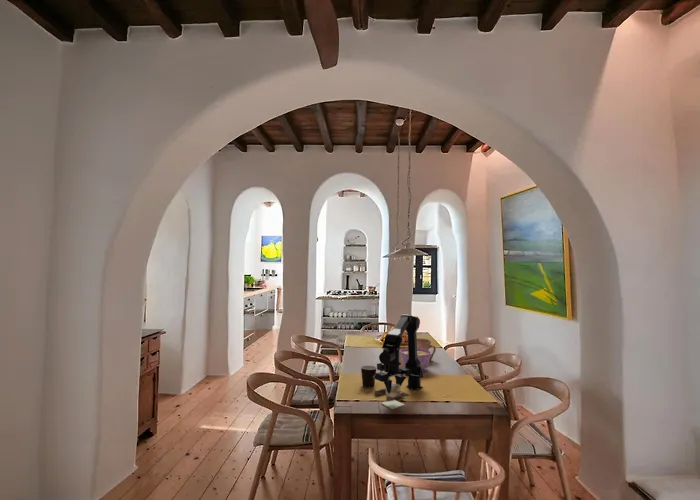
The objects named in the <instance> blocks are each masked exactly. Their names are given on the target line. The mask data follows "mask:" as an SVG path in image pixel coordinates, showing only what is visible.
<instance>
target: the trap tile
mask: <svg viewBox="0 0 700 500" xmlns="http://www.w3.org/2000/svg"><path fill="white" fill-rule="evenodd" d="M400 392H403V397H405V396H409V395H410V394H408V393H407V392H404V391H403V390H400Z"/></svg>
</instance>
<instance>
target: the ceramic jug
mask: <svg viewBox="0 0 700 500" xmlns="http://www.w3.org/2000/svg"><path fill="white" fill-rule="evenodd" d="M431 343H432V341H431V340H430V339H428V338H421V337H420V338H417V348H420V349H426V350H429V349H430V348H433V351H432V352H431V356H430V360H429V362H430V361H431V360H432V359H433V357H434V355H435V353H436V349H437V347H436V346H435V345H434V344H431Z"/></svg>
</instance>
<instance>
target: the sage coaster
mask: <svg viewBox="0 0 700 500" xmlns="http://www.w3.org/2000/svg"><path fill="white" fill-rule="evenodd" d="M380 403H381V405H382V406H384V407H387V408H388V409H391V410H394V409H397V408H402V407H405V406H406V404H405V403H403V402H400V401H398V400H397V399H396V400H390V401H383V402H380Z"/></svg>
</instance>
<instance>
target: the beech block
mask: <svg viewBox="0 0 700 500" xmlns="http://www.w3.org/2000/svg"><path fill="white" fill-rule="evenodd" d="M400 391H401V387H400V385H399V384H397V383H396V382H393V381H392V385H391V391H390V394H389V393H388V392H387V389H386V394H385V395H386V396H387V395H388V396H390V397H392V398H393V397H396V396H400Z"/></svg>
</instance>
